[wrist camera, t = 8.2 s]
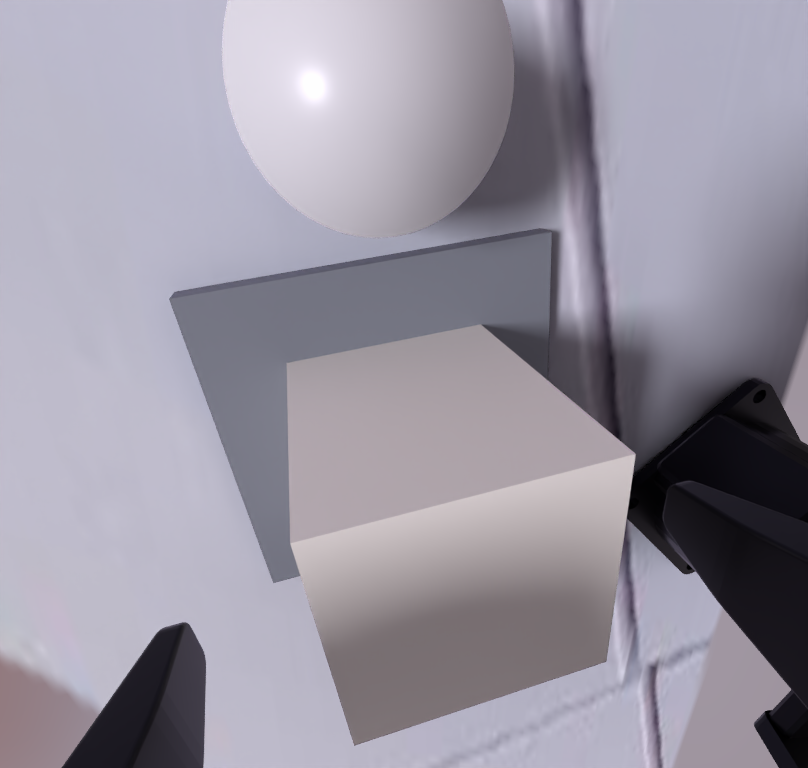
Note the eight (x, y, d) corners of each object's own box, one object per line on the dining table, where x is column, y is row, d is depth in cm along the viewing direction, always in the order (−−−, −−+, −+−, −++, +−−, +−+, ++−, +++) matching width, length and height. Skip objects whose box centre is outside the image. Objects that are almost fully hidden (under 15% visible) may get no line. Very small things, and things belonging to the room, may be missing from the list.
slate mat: (535, 497, 16) (544, 508, 15) (273, 567, 15) (273, 582, 14) (540, 228, 12) (552, 231, 11) (174, 291, 10) (168, 298, 10)
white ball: (469, 118, 10) (564, 96, 7) (348, 249, 11) (378, 290, 8) (338, -64, 9) (378, -219, 5) (202, 105, 9) (152, 72, 6)
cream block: (487, 476, 14) (606, 661, 9) (326, 517, 13) (354, 745, 8) (480, 324, 12) (635, 454, 7) (286, 362, 11) (290, 543, 6)
